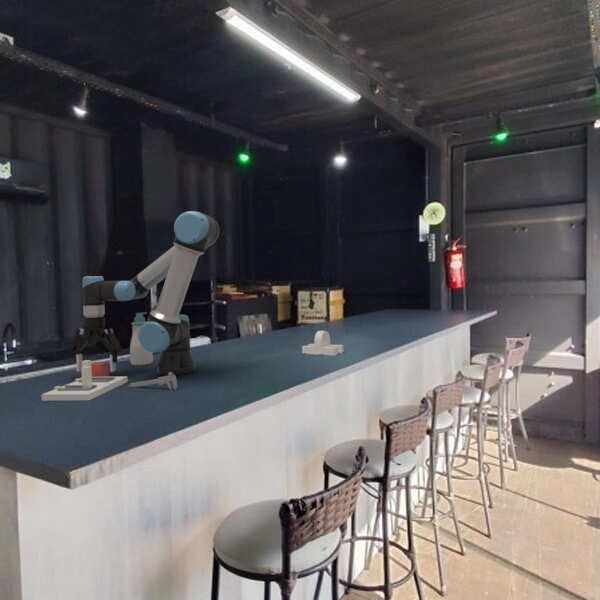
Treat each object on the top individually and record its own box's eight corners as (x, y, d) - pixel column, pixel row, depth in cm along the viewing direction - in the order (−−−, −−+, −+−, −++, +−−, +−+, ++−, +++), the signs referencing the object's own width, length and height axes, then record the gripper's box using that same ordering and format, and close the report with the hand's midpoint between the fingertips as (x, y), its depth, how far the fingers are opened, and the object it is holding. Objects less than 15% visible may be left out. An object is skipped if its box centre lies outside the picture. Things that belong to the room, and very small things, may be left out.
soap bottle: (158, 362, 213) (155, 312, 212) (140, 366, 205) (137, 314, 204) (143, 361, 219) (141, 312, 217) (125, 364, 210) (123, 314, 209)
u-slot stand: (335, 356, 216) (335, 332, 216) (301, 354, 225) (300, 331, 224) (344, 352, 225) (343, 330, 224) (310, 350, 233) (310, 329, 233)
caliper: (177, 390, 160) (176, 371, 160) (175, 390, 159) (174, 372, 159) (129, 386, 168) (128, 369, 167) (127, 387, 167) (126, 369, 166)
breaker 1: (92, 379, 170) (90, 360, 170) (88, 380, 168) (87, 361, 168) (86, 379, 170) (85, 360, 170) (82, 380, 168) (81, 361, 168)
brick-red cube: (108, 376, 185) (108, 361, 185) (101, 380, 179) (100, 364, 179) (95, 377, 186) (94, 361, 185) (86, 380, 180) (85, 364, 180)
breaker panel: (127, 381, 175) (127, 374, 175) (89, 400, 149) (88, 391, 149) (86, 382, 177) (86, 374, 177) (41, 400, 151) (41, 392, 151)
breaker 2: (92, 387, 157) (91, 366, 157) (88, 388, 155) (87, 367, 155) (86, 387, 158) (84, 366, 157) (82, 388, 155) (81, 367, 155)
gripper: (129, 315, 184) (131, 369, 185) (69, 315, 186) (71, 368, 188) (120, 317, 176) (122, 373, 177) (57, 317, 179) (60, 372, 180)
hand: (96, 371), depth 182 cm, fingers open, 13 cm apart
